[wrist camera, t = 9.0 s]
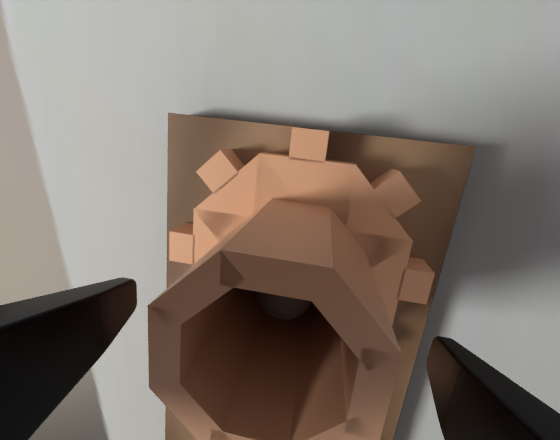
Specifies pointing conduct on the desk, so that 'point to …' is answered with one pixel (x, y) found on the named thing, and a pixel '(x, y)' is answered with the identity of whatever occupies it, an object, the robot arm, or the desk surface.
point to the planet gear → (290, 283)
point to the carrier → (372, 163)
